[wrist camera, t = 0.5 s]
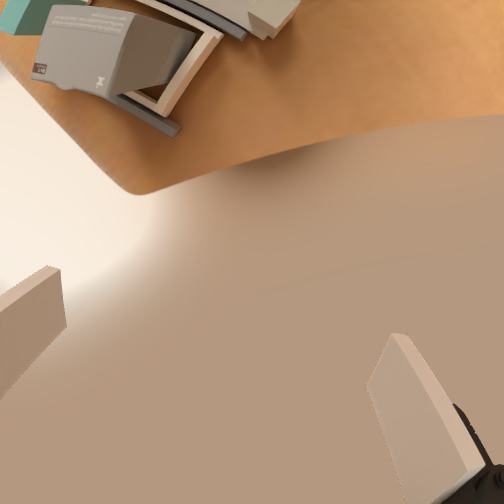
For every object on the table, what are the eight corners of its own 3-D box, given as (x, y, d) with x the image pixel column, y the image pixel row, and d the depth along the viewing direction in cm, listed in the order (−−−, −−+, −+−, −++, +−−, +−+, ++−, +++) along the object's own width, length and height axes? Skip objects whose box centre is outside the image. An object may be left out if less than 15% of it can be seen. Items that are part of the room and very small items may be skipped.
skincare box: (198, 33, 25) (148, 2, 12) (174, 89, 29) (110, 103, 16) (133, 18, 24) (52, -6, 10) (112, 71, 27) (24, 82, 14)
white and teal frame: (83, -24, 19) (31, -40, 9) (224, 35, 25) (207, 15, 16) (42, 49, 24) (-16, 54, 14) (168, 115, 30) (130, 134, 21)
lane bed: (145, -66, 16) (138, -73, 14) (285, -8, 22) (287, -14, 20) (57, 67, 26) (46, 68, 24) (177, 133, 32) (171, 137, 30)
